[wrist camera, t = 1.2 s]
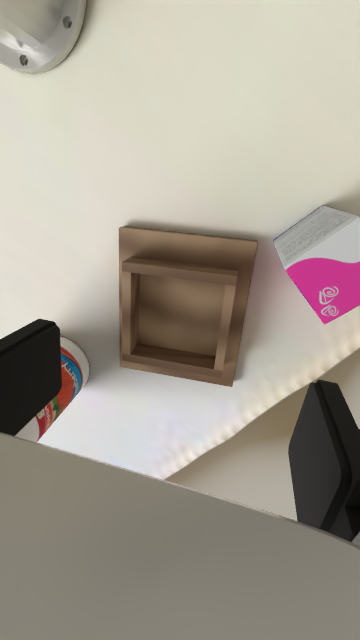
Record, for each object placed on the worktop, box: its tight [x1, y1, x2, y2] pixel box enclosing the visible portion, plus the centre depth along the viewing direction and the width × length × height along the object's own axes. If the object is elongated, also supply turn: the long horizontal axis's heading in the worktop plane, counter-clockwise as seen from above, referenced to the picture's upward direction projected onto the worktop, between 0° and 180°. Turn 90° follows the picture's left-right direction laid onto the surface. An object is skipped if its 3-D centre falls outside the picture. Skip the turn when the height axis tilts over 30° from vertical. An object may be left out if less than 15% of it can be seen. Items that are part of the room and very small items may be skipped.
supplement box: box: [273, 205, 360, 324], centre depth 26 cm, size 6×6×12 cm
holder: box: [119, 227, 257, 387], centre depth 35 cm, size 18×15×4 cm
